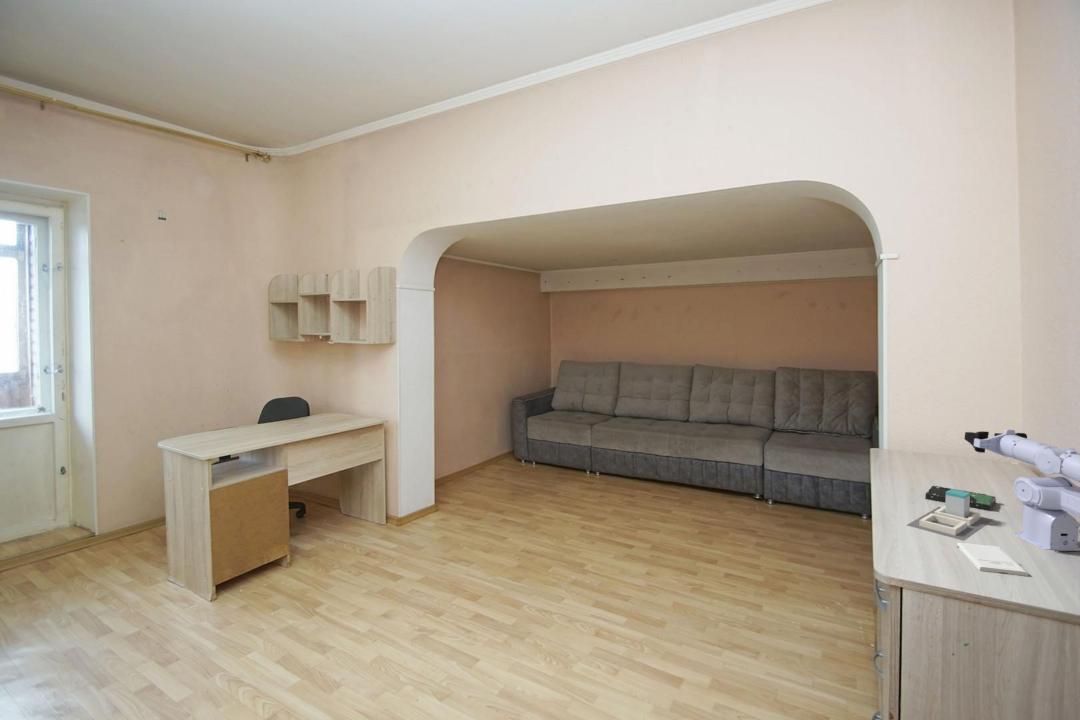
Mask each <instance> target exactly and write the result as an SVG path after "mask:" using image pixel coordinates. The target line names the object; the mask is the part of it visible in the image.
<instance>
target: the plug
mask: <svg viewBox="0 0 1080 720" xmlns="http://www.w3.org/2000/svg"><path fill="white" fill-rule="evenodd" d="M959 490H960V489H956V490H955V488H950V490H948V491H947V492H946V501H945V503H944V504H945V505H944V506H945V513H946V514H951V515H955V516H959V517H963V518H969V511H970V508H971V507H970V493H969V492H970V491H968V492H964V491H965V490H962V491H959Z"/></svg>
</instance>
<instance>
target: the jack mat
mask: <svg viewBox="0 0 1080 720" xmlns="http://www.w3.org/2000/svg"><path fill="white" fill-rule="evenodd" d="M942 507H943V506H942ZM942 507H941V506H937V507H935V508H934V509H932V510H930V511H928V512H927V513H925V514H923V515H922V516H920V517H918V518H917V519H914V520H913V521H910V522H909V523H907V524H906V526H907V527H912V528H916V529H919V530H923V531H925V532H931V533H932V534H933V533H935V534H938V535H941V536H944V537H945V536H946V537H949V538H953V539H957V540H959V541H965V540H967V539H968V538H970V537H972V535H974V534H975V533H977V532H978V531H979V530H980V529H982V528H984V527H986V526H987V524H989V523H991V522H992V521H994V519H992V518H990V517H983V516H980V519H979V520H978V521H976V522H975V523H973V524H972V525H970V526H968V525H967V528H966V529H964V530H963V531H961V532H960V533H958V534H957V535H952V534H948V533H944V532H940V531H937V530H933V529H929V528H925V527H922V526H919V520H921V519H923V518H924V517H926V516H928V515H929V514H931V513H932V514H934V512H935V511H936V510H938V509H940V508H942ZM932 523H936V524H940V525H944V526H948V527H952V528H953V527H955V526H954V525H950V524H946V523H942V522H938V521H932Z"/></svg>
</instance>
